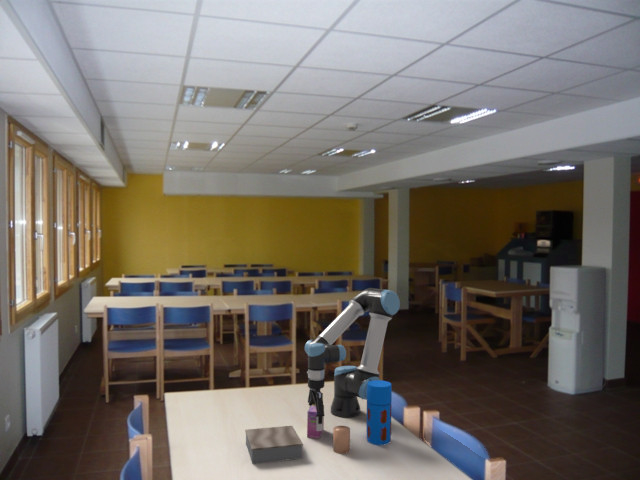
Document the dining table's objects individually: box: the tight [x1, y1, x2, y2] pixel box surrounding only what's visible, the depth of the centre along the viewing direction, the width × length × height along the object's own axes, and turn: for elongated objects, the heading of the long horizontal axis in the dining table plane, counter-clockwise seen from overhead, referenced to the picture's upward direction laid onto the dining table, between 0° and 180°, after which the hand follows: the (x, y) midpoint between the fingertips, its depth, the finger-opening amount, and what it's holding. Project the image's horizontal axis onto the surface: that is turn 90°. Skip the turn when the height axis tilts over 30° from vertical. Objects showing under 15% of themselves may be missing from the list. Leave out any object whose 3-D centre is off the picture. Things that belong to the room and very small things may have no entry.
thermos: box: [365, 379, 393, 446], centre depth 230 cm, size 11×11×25 cm
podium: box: [244, 425, 304, 464], centre depth 217 cm, size 21×21×6 cm
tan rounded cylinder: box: [332, 425, 351, 455], centre depth 219 cm, size 7×7×9 cm
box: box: [306, 404, 325, 439], centre depth 237 cm, size 10×6×12 cm, turn 168°
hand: (315, 425), depth 237 cm, fingers open, 13 cm apart
